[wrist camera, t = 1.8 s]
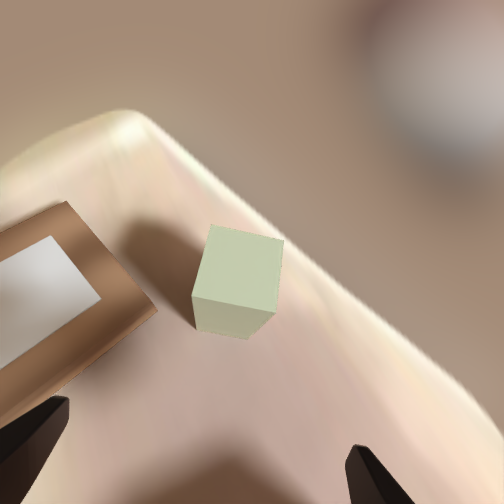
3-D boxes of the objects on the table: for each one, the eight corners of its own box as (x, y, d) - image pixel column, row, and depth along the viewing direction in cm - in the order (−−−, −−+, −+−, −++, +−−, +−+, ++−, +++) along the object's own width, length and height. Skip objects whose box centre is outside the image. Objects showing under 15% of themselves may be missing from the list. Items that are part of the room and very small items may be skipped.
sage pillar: (255, 291, 24) (283, 240, 16) (247, 339, 22) (276, 312, 13) (208, 281, 24) (211, 224, 15) (196, 330, 22) (191, 295, 13)
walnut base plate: (157, 310, 22) (151, 300, 19) (4, 432, 17) (-35, 443, 14) (81, 220, 25) (65, 199, 22) (-73, 302, 20) (-119, 289, 17)
